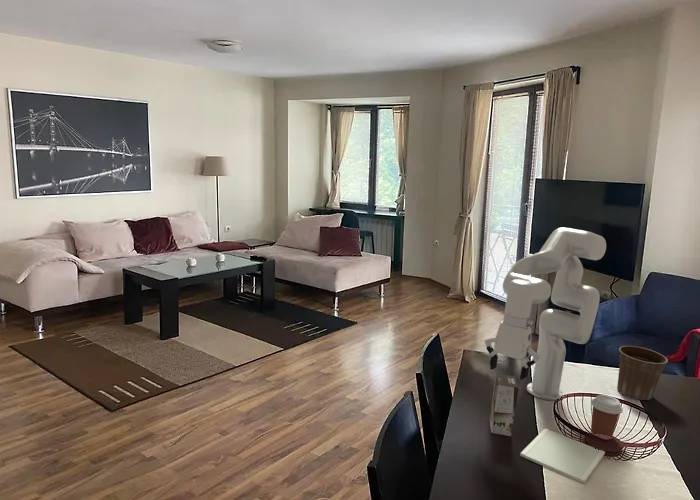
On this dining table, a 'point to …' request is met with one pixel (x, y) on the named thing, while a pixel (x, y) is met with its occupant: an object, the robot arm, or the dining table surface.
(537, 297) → the robot arm
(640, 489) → the dining table surface
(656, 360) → the plant pot
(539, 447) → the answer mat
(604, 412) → the coffee cup
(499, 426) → the coffee box
